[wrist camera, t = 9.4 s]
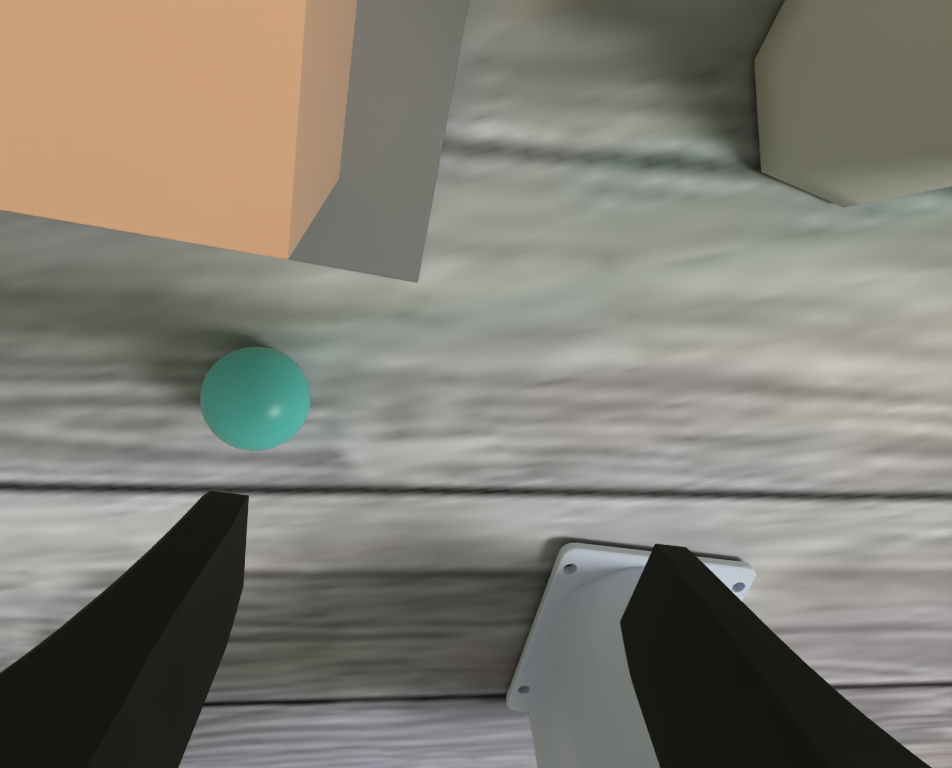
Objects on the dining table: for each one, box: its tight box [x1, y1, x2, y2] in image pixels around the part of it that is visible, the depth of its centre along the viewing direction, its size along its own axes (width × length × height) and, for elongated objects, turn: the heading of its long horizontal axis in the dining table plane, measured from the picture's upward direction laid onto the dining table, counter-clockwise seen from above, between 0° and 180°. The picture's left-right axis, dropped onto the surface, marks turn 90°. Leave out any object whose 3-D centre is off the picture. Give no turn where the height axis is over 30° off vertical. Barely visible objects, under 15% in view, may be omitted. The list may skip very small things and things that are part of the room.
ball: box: [200, 347, 310, 451], centre depth 18 cm, size 3×3×3 cm
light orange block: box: [0, 0, 357, 259], centre depth 12 cm, size 5×5×7 cm
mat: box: [289, 0, 469, 283], centre depth 15 cm, size 10×10×1 cm
